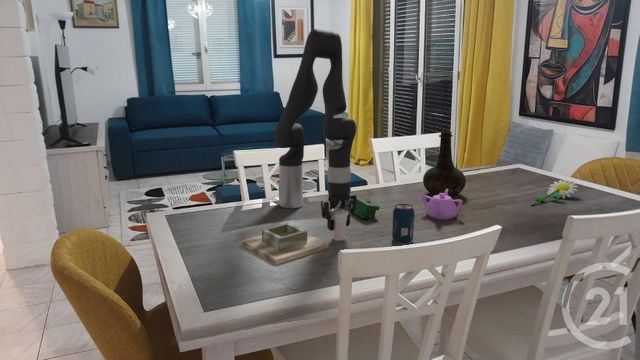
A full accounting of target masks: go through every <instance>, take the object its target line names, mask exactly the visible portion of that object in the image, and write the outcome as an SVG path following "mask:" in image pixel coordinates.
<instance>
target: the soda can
mask: <svg viewBox="0 0 640 360" xmlns="http://www.w3.org/2000/svg"><path fill="white" fill-rule="evenodd" d="M414 227H415V210H414V206H413V205H412V204H408V203H398V204H395V206H394V209H393V211H392V230H391V232H392V233H391V237H392V239H393V241H394V242H395V243H396V244H401V245H407V244H411V242H412V241H413V239H414V233H415V232H414V230H415V229H414Z"/></svg>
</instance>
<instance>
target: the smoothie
mask: <svg viewBox="0 0 640 360" xmlns="http://www.w3.org/2000/svg"><path fill="white" fill-rule="evenodd" d="M332 210H334V209H333V208H332ZM330 215H332V213H331V214H330ZM347 215H349V214H348V211H346V210H344V209H340V210H338V212H337V214H335V217H334V219H333V220H334V230H333V231H331V232H332V240H334V241H337V242H339V241H341V242H342V241H344V240H345V235H346V228H347V226H346V222H347Z"/></svg>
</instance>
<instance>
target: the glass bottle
mask: <svg viewBox="0 0 640 360" xmlns="http://www.w3.org/2000/svg"><path fill="white" fill-rule="evenodd" d="M438 137H439V138H440V141H439V142H440V143H439V151H438V158H437V162H436V164H435V166H433V167H429V169H427V170H426V171H425V173H424V174H423V178H422V184H423V185H424V186H423V187H424V188H425V190H426V191H427V192H428V193H429V194H431V195H432V196H435V195H439V193H445V190H446V189H448V196H450V197H451V198H452V197H456V196H458V195H460V194H461V193H462V192H463V190H464V189H465V186H466V183H467V179H466V175H465V174H464V172H463V171H461V170H460V169H459V168H457V167H455V164H454V162H453V156H452V155H453V154H452V137H453V134H452V131H449V130H442V131H440V134H439V135H438Z"/></svg>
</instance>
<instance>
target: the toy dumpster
mask: <svg viewBox="0 0 640 360" xmlns="http://www.w3.org/2000/svg"><path fill="white" fill-rule="evenodd" d="M351 208H352V206H351ZM380 208H381V206H380V205H379V204H374V203H372V201H371V200H369V199H368V198H367V199H366V198H361V197H356V207H355V212H354V213H353V214H355V215H356V216H358V217H359V218H361V219H362V220H363V219H364V220H369V219H370V217H376V216H375V215H376V213H377V211H379V210H380Z"/></svg>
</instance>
